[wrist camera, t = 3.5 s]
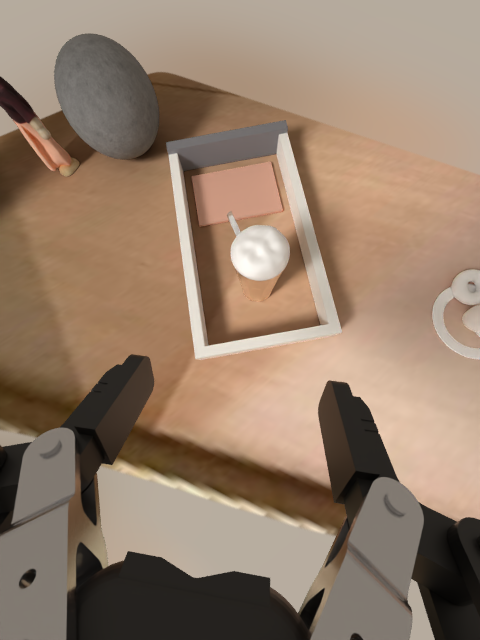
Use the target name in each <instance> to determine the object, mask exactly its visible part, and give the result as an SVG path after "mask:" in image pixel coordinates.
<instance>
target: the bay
mask: <svg viewBox="0 0 480 640" xmlns="http://www.w3.org/2000/svg"><path fill="white" fill-rule="evenodd" d="M287 131H288V127H287V123H286V120H284V121H279V122H273V123H268V124H262V125H257V126H252V127H246V128H241V129H235V130H230V131H225V132H219V133H214V134H208V135H203V136H198V137H192V138H187V139H181V140H176V141H170V142H166V146H167V152H168V154H169V161H170V169H171V176H172V184H173V192H174V199H175V207H176V214H177V222H178V229H179V237H180V245H181V252H182V260H183V267H184V275H185V282H186V290H187V298H188V305H189V313H190V320H191V328H192V335H193V343H194V351H195V358H196V359H199V360H204V359H209V358H215V357H221V356H226V355H232V354H237V353H243V352H248V351H254V350H259V349H265V348H270V347H276V346H282V345H287V344H293V343H298V342H304V341H309V340H315V339H320V338H326V337H332V336H335V335H337V334H340V333H342V330H341V326H340V323H339V319H338V315H337V312H336V308H335V304H334V301H333V297H332V293H331V290H330V286H329V283H328V279H327V275H326V272H325V268H324V264H323V261H322V257H321V253H320V250H319V246H318V243H317V239H316V235H315V232H314V228H313V224H312V221H311V217H310V213H309V210H308V206H307V203H306V199H305V195H304V192H303V188H302V184H301V181H300V177H299V173H298V170H297V166H296V163H295V159H294V155H293V152H292V148H291V144H290V141H289V137H288V133H287ZM273 154H277V158H278V162H279V166H280V170H281V174H282V177H283V181H284V185H285V189H286V193H287V197H288V201H289V205H290V209H291V213H292V217H293V220H294V224H295V228H296V232H297V236H298V240H299V244H300V248H301V252H302V256H303V260H304V263H305V267H306V271H307V275H308V279H309V283H310V287H311V291H312V295H313V299H314V302H315V306H316V310H317V314H318V318H319V322H320V326H315V327H310V328H304V329H298V330H293V331H287V332H282V333H276V334H271V335H265V336H260V337H254V338H249V339H243V340H238V341H232V342H226V343H221V344H215V345H210V346H209V345H208V338H207V331H206V324H205V318H204V311H203V304H202V297H201V290H200V283H199V276H198V270H197V263H196V256H195V249H194V242H193V235H192V228H191V222H190V215H189V208H188V201H187V194H186V187H185V181H184V174H183V171H186V170H191V169H197V168H202V167H208V166H213V165H219V164H224V163H229V162H235V161H240V160H246V159H251V158H257V157H262V156H267V155H273ZM192 182H193V188H194V195H195V201H196V208H197V214H198V221H199V226H200V227H202V226H208V225H213V224H219V223H224V222H230V221H229V219H228V217H227V214H228V213H229V212H230V211H232V213H233V216H234V218H235V220H240V219H246V218H251V217H257V216H262V215H268V214H273V213H279V212H283V208H282V204H281V200H280V196H279V192H278V188H277V184H276V180H275V176H274V172H273V168H272V164H271V162H266V163H260V164H255V165H250V166H244V167H239V168H233V169H228V170H222V171H217V172H212V173H206V174H201V175H195V176H192Z"/></svg>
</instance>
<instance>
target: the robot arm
mask: <svg viewBox="0 0 480 640" xmlns="http://www.w3.org/2000/svg"><path fill="white" fill-rule="evenodd" d="M153 387H154V377H153V372H152V367H151V362H150V358H149V357H147V356H139V355H130V356H129V357H128V358H127V359H126V360H125V362H124V363H123V364H122V365H116V366H114V367H113V368H112V369H110V370H109V371H107V372H106V373H105V374H104V375H103V377H102V378H101V379H100V380H99V381H98V384H96V385H95V386H94V388H93V389H92V390H91V392H89V394H88V395H87V396H86V397H85V398H84V400H83V401H82V402H81V403H80V404H79V406H78V407H77V408H76V409H75V411H74V412H73V413H72V414H71V415H70V417H69V418H68V419H67V420H66V421H65V423H64V424H63V425H62V426H61V427H60V428H56V429H52V430H50V431H47V432H45V433H43V434H42V435H40V436H39V437H37V438H36V439H35V440H34V441H33V442H30V443H24V444H17V445H11V446H5V447H1V446H0V640H409V638H410V633H411V627H412V610H411V607H410V606H409V604H408V601H407V596H408V589H409V585H410V581H411V579H413V580H414V581H416V582H417V583H418V586H419V589H420V593H421V596H422V599H423V602H424V606H425V609H426V612H427V615H428V618H429V622H430V625H431V628H432V632H433V635H434V638H435V640H480V520H479V519H475V518H470V517H468V518H463V519H461V520H460V521H458V522H456V521H454V520H452V519H450V518H448V517H446V516H444V515H442V514H440V513H438V512H436V511H434V510H432V509H430V508H428V507H426V506H424V505H422V504H421V503H419V502H418V501H417V499H416V498H415V496H414V495H413V494H412V493H411V492H410V491H409V490H408V489H407V488H406V487H405V486H404V485H403V484H401V483H400V482H399V480H398V478H397V476H396V474H395V472H394V469H393V467H392V464H391V462H390V459H389V457H388V454H387V452H386V449H385V447H384V444H383V442H382V439H381V437H380V434H378V429H377V427H376V424H375V423H374V419H373V417H372V414H371V412H370V409H369V408H368V406H367V405H366V404H365V403H364V402H363V400H362V399H361V398H360V397H354V396H353V395H352V392H351V390H350V387H349V385H348V383H344V382H337V381H328V382H327V384H326V386H325V389H324V392H323V394H322V397H321V400H320V402H319V407H318V416H319V422H320V427H321V433H322V438H323V444H324V449H325V455H326V460H327V466H328V471H329V477H330V482H331V488H332V493H333V498H334V503H340V504H345V509H346V514H347V515H346V517H345V519H344V521H343V523H342V525H341V527H340V530H339V532H338V534H337V536H336V538H335V540H334V542H333V545H332V547H331V549H330V551H329V553H328V555H327V557H326V559H325V562H324V564H323V566H322V568H321V570H320V572H319V573H318V575H317V577H316V578H315V580H314V582H313V583H312V586H311V587H310V589H309V591H308V593H307V595H306V597H305V599H304V602H303V604H302V606H301V608H300V610H299V612H298V613H297V612H296V610H295V609H294V608H293V607H292V605H291V604H290V603H289V602H288V601H287V600H286V599H285V598H284V597H283V596H281V595H280V594H279V593H278V592H277V591H275V590H274V589H272V588H271V587H270V578H267V577H262V576H257V575H251V574H246V573H241V572H235V571H233V572H227V573H222V574H217V575H212V576H207V577H202V578H193V577H191V576H190V575H188V574H186V573H185V572H183V571H182V570H180V569H179V568H177V567H175V566H174V565H172V564H171V563H169V562H167V561H166V560H165V559H163V558H161V557H156V556H150V555H145V554H140V553H135V552H129V551H128V552H127V555H126V557H125V560H124V561H121V562H118V563H115V564H112V565H110V566H108V558H107V550H106V544H105V540H104V537H103V534H102V529H101V519H100V507H99V494H98V481H97V473H96V472H97V471H98V469H99V467H100V466H101V464H102V463H103V464H109V465H112V464H113V463H114V461H115V459H116V457H117V455H118V453H119V452H120V450H121V448H122V446H123V444H124V442H125V441H126V439H127V437H128V435H129V433H130V431H131V430H132V428H133V426H134V424H135V422H136V420H137V419H138V417H139V415H140V413H141V411H142V409H143V408H144V406H145V404H146V402H147V400H148V398H149V397H150V395H151V393H152V390H153Z"/></svg>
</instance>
